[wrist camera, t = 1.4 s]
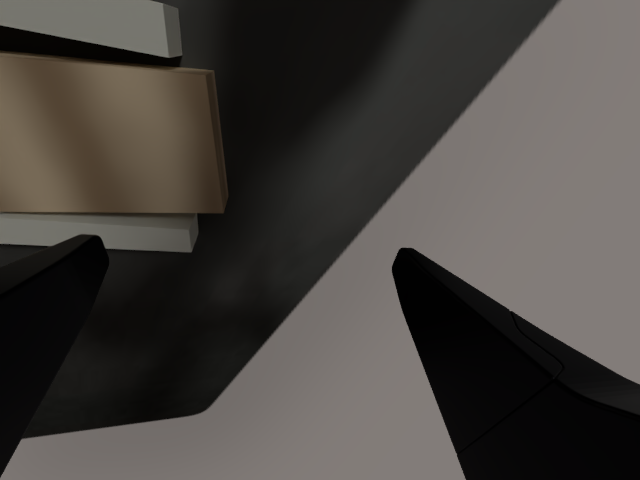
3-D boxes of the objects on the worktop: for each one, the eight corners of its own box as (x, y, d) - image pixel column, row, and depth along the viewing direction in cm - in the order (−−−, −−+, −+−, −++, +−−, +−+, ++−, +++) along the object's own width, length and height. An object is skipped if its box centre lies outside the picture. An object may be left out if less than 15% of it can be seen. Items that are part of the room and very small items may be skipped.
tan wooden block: (215, 69, 16) (205, 75, 13) (229, 193, 21) (223, 213, 18) (-56, 44, 14) (-125, 45, 11) (29, 188, 18) (-7, 211, 16)
